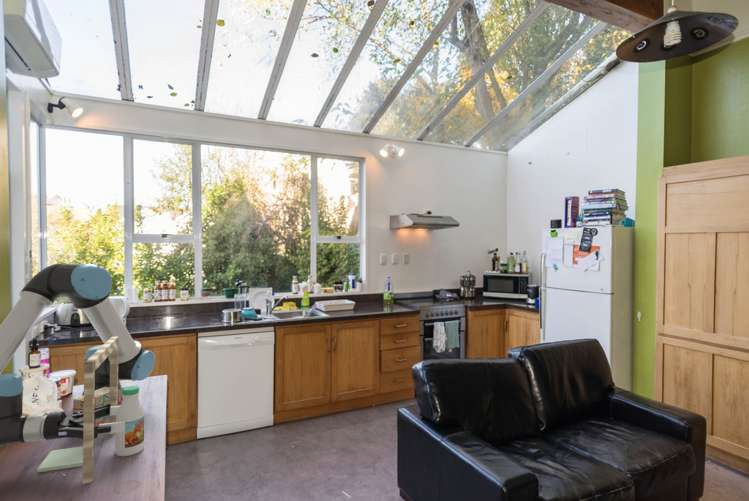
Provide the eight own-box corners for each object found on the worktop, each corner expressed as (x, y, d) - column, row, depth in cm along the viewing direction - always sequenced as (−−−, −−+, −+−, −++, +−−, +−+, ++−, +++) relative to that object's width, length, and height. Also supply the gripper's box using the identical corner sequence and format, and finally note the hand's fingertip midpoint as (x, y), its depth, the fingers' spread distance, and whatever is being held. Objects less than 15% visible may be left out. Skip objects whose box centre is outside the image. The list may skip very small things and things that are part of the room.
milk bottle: (113, 459, 125) (114, 393, 124) (117, 447, 132) (118, 385, 131) (142, 454, 128) (143, 390, 127) (145, 443, 135) (146, 382, 134)
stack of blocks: (125, 410, 161) (126, 378, 161) (138, 412, 159) (139, 380, 159) (72, 434, 140) (72, 398, 140) (86, 436, 139) (87, 400, 138)
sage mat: (51, 453, 127) (51, 450, 127) (93, 448, 131) (93, 444, 131) (37, 472, 117) (37, 469, 117) (83, 465, 121) (83, 462, 121)
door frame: (110, 432, 142) (111, 336, 141) (117, 431, 142) (118, 336, 142) (82, 484, 112) (84, 362, 111) (91, 482, 113) (92, 362, 112)
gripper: (61, 421, 133) (136, 413, 141) (28, 460, 110) (120, 447, 117) (61, 398, 133) (136, 391, 141) (28, 432, 110) (120, 421, 117)
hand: (129, 417), depth 129 cm, fingers open, 13 cm apart
